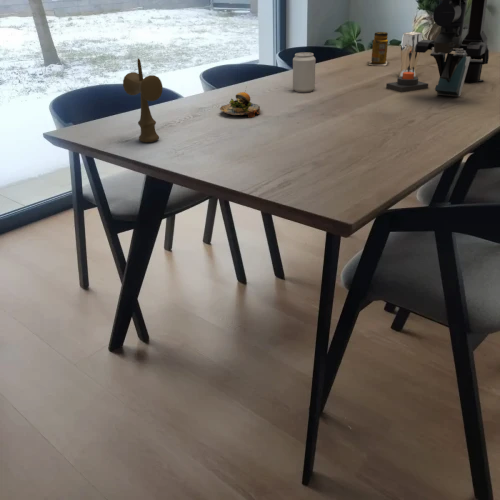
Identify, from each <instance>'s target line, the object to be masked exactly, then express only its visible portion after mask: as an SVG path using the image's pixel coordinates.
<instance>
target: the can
mask: <svg viewBox="0 0 500 500" xmlns="http://www.w3.org/2000/svg"><path fill="white" fill-rule="evenodd" d="M315 88H316V57H315V56H314V53H313V52H296V53H295V54H294V57H293V58H292V89H293V90H294V92H296V93H311V92H313V90H314V89H315Z"/></svg>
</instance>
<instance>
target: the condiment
mask: <svg viewBox="0 0 500 500" xmlns="http://www.w3.org/2000/svg"><path fill="white" fill-rule="evenodd" d="M388 45H389V40H388V32H386V31H375V32H374V36H373V40H372V49H371V60H370V61H369V62H368V66H387V65H388V61H387V56H388Z"/></svg>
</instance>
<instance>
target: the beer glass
mask: <svg viewBox="0 0 500 500" xmlns="http://www.w3.org/2000/svg"><path fill="white" fill-rule="evenodd" d="M421 40H423V32H419V31H406V32H402V38H401V44H400V62H401V66H400V72H399V75H398V77H401V76H403V72H413V73H414V77H417V65H418V62H419V59H420V58H419V57H420V54H421V53H420V52H415V46H416V44H417V43H418V42H419V41H421Z"/></svg>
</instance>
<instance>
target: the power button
mask: <svg viewBox="0 0 500 500" xmlns="http://www.w3.org/2000/svg"><path fill="white" fill-rule="evenodd" d="M402 79H414V73H413V72H403V77H402Z"/></svg>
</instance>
